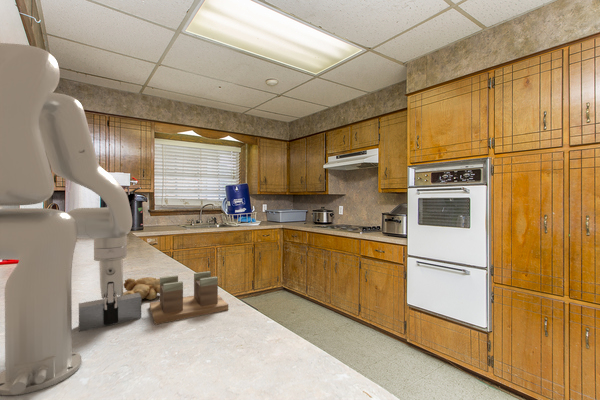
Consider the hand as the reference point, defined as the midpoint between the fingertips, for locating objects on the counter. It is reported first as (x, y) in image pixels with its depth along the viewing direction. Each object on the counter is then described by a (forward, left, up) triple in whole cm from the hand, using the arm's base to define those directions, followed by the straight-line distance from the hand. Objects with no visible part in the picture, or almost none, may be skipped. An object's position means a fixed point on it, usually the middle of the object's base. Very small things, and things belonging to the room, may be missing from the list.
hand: (111, 319), depth 80 cm
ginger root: (+18, -9, -1) cm, 20 cm away
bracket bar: (0, 0, -1) cm, 1 cm away
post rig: (-1, -20, -1) cm, 20 cm away
